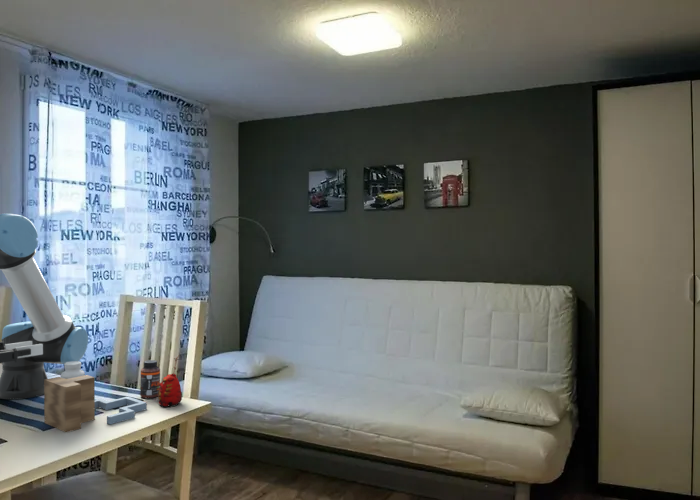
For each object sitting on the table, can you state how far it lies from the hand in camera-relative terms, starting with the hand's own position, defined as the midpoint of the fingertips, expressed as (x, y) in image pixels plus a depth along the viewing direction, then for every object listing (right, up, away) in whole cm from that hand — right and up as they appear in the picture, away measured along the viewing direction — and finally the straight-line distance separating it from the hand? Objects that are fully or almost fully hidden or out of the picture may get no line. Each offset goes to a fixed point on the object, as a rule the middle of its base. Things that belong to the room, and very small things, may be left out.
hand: (36, 347), depth 151 cm
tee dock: (+14, -22, +17) cm, 31 cm away
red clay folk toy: (+28, -22, +24) cm, 43 cm away
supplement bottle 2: (+19, -21, +32) cm, 43 cm away
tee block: (+7, -22, +7) cm, 24 cm away
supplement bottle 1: (-1, -21, +23) cm, 31 cm away
